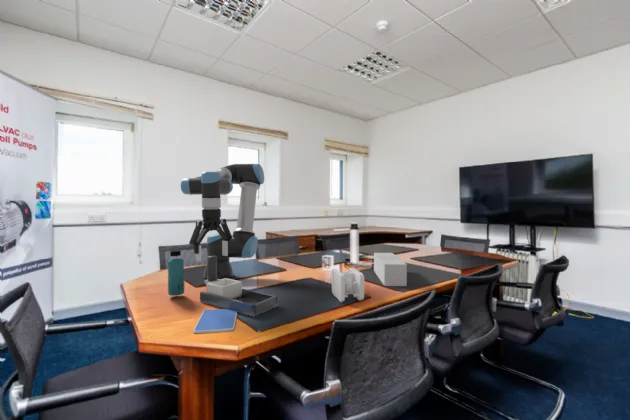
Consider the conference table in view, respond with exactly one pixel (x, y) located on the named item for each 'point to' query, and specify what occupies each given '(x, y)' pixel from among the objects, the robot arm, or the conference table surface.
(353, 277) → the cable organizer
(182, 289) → the beverage bottle
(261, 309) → the bay
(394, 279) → the grey rectangular block
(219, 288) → the open tray with handle
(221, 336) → the conference table surface
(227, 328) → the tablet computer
